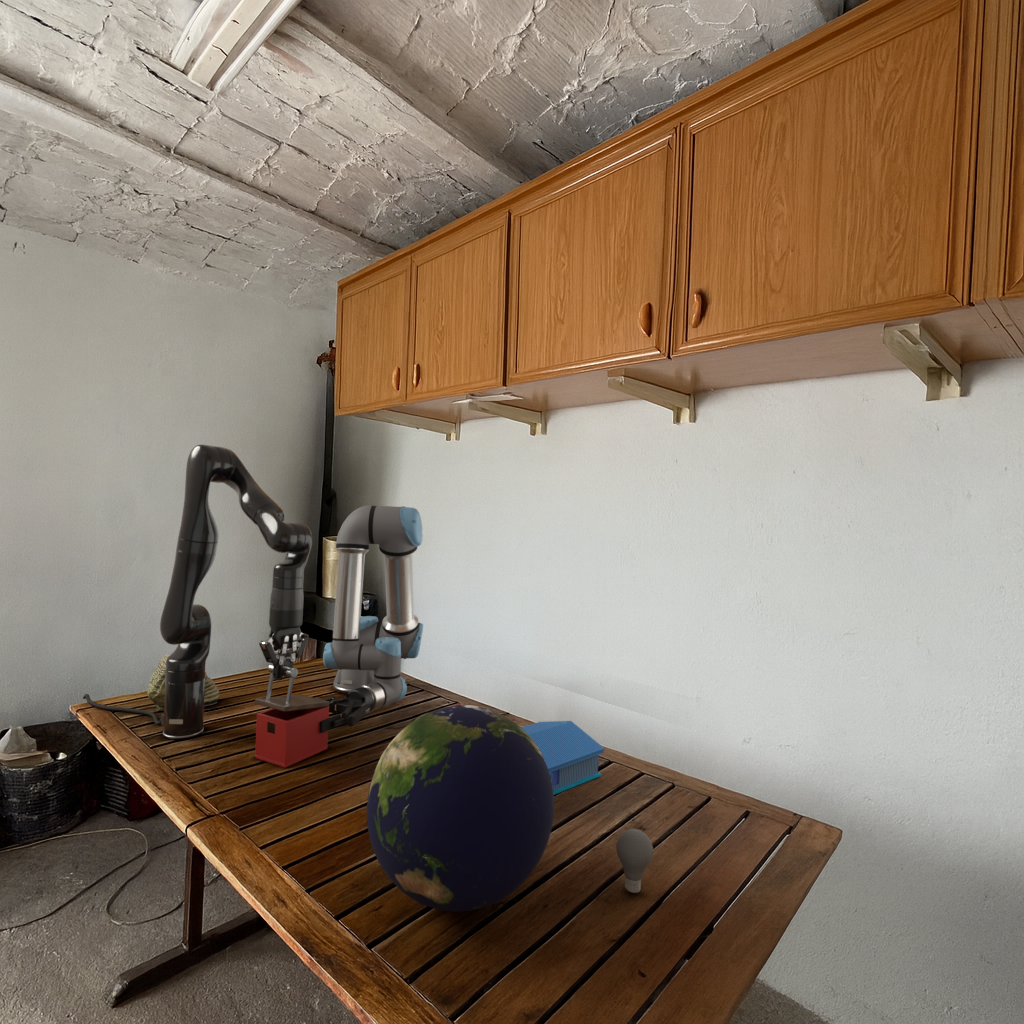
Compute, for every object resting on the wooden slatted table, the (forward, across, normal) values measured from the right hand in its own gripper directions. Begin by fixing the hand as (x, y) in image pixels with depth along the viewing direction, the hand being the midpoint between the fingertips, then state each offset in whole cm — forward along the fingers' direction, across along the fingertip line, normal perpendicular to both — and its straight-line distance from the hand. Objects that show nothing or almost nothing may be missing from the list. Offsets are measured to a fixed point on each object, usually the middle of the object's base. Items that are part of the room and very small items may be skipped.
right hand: (304, 722), depth 158 cm
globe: (+29, -64, -7) cm, 71 cm away
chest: (+4, 0, -6) cm, 7 cm away
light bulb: (+13, -89, -7) cm, 90 cm away
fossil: (-3, +51, -6) cm, 52 cm away
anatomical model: (-36, -17, -6) cm, 40 cm away
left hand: (+8, 0, +13) cm, 15 cm away
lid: (+4, 0, +6) cm, 7 cm away
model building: (-11, -54, -6) cm, 55 cm away
